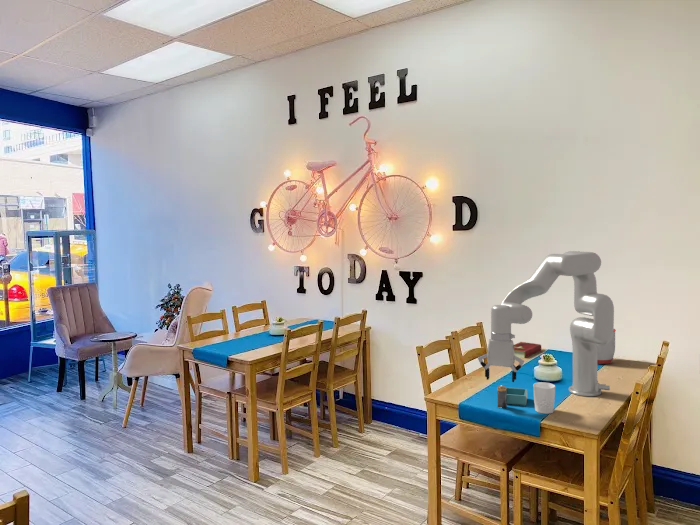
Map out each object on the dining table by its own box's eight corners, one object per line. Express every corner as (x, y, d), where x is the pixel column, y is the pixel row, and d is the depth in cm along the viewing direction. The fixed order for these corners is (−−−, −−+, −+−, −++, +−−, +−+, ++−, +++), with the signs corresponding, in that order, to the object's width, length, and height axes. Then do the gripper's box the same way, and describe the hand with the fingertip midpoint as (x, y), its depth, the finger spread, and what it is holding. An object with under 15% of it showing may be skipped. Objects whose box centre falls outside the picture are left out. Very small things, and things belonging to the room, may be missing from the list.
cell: (507, 406, 208) (506, 384, 207) (506, 409, 204) (506, 387, 204) (498, 405, 209) (497, 384, 208) (497, 408, 206) (496, 386, 205)
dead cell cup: (527, 398, 216) (527, 389, 215) (525, 406, 207) (525, 396, 207) (503, 396, 219) (503, 387, 219) (501, 403, 210) (501, 394, 210)
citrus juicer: (572, 360, 273) (572, 322, 271) (599, 356, 278) (599, 319, 276) (594, 367, 258) (594, 327, 256) (623, 363, 263) (623, 324, 261)
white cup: (550, 406, 205) (550, 381, 205) (558, 414, 197) (558, 387, 197) (530, 407, 205) (530, 382, 204) (538, 414, 197) (537, 388, 196)
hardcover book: (541, 351, 295) (541, 344, 295) (525, 358, 280) (525, 351, 279) (521, 348, 303) (521, 341, 303) (504, 355, 288) (504, 348, 287)
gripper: (524, 336, 205) (524, 379, 206) (479, 333, 211) (479, 375, 212) (523, 340, 198) (523, 384, 199) (476, 337, 204) (476, 380, 205)
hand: (500, 380), depth 206 cm, fingers open, 9 cm apart
